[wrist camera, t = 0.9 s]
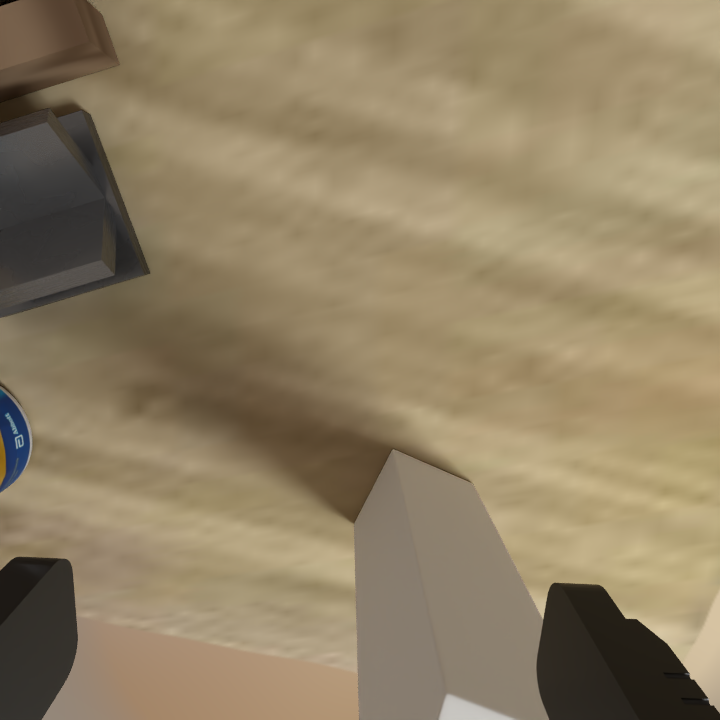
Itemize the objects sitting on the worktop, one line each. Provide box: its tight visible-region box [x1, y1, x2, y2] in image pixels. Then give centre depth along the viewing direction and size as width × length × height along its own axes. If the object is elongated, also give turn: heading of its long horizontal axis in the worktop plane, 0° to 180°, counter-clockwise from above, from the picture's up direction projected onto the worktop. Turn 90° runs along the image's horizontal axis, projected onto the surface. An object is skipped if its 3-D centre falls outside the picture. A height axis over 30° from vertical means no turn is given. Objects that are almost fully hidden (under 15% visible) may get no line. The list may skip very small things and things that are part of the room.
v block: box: [0, 108, 150, 318], centre depth 28 cm, size 9×9×4 cm
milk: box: [354, 449, 549, 720], centre depth 24 cm, size 6×6×22 cm
